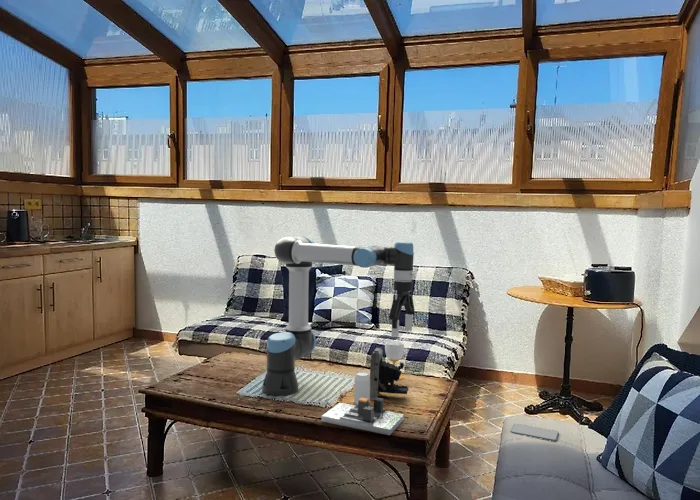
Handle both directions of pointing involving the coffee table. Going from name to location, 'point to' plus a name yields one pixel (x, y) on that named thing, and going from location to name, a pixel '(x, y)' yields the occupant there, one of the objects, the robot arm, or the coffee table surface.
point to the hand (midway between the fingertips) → (401, 333)
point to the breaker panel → (361, 426)
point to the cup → (394, 351)
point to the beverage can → (361, 386)
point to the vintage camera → (384, 376)
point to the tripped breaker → (362, 404)
